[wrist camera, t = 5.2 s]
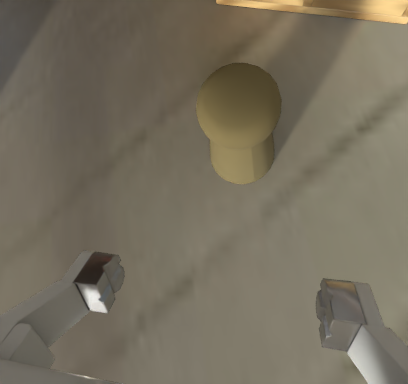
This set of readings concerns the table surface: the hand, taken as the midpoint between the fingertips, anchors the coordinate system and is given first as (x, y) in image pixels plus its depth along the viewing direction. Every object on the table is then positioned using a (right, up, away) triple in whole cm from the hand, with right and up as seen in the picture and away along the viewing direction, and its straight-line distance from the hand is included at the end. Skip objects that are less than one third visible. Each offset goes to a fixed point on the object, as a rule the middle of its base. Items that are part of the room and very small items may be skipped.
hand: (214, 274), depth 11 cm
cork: (+3, +7, +15) cm, 17 cm away
